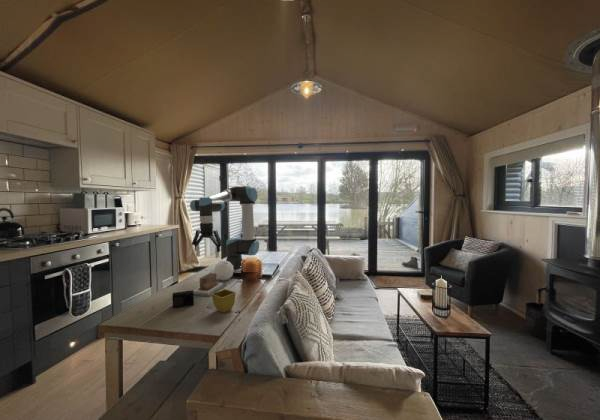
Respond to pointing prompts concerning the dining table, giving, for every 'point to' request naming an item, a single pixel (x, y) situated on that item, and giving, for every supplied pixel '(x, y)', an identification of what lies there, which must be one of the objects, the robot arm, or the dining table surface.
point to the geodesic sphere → (224, 270)
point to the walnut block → (208, 282)
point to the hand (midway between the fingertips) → (207, 256)
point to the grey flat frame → (211, 291)
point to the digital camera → (183, 299)
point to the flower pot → (223, 300)
